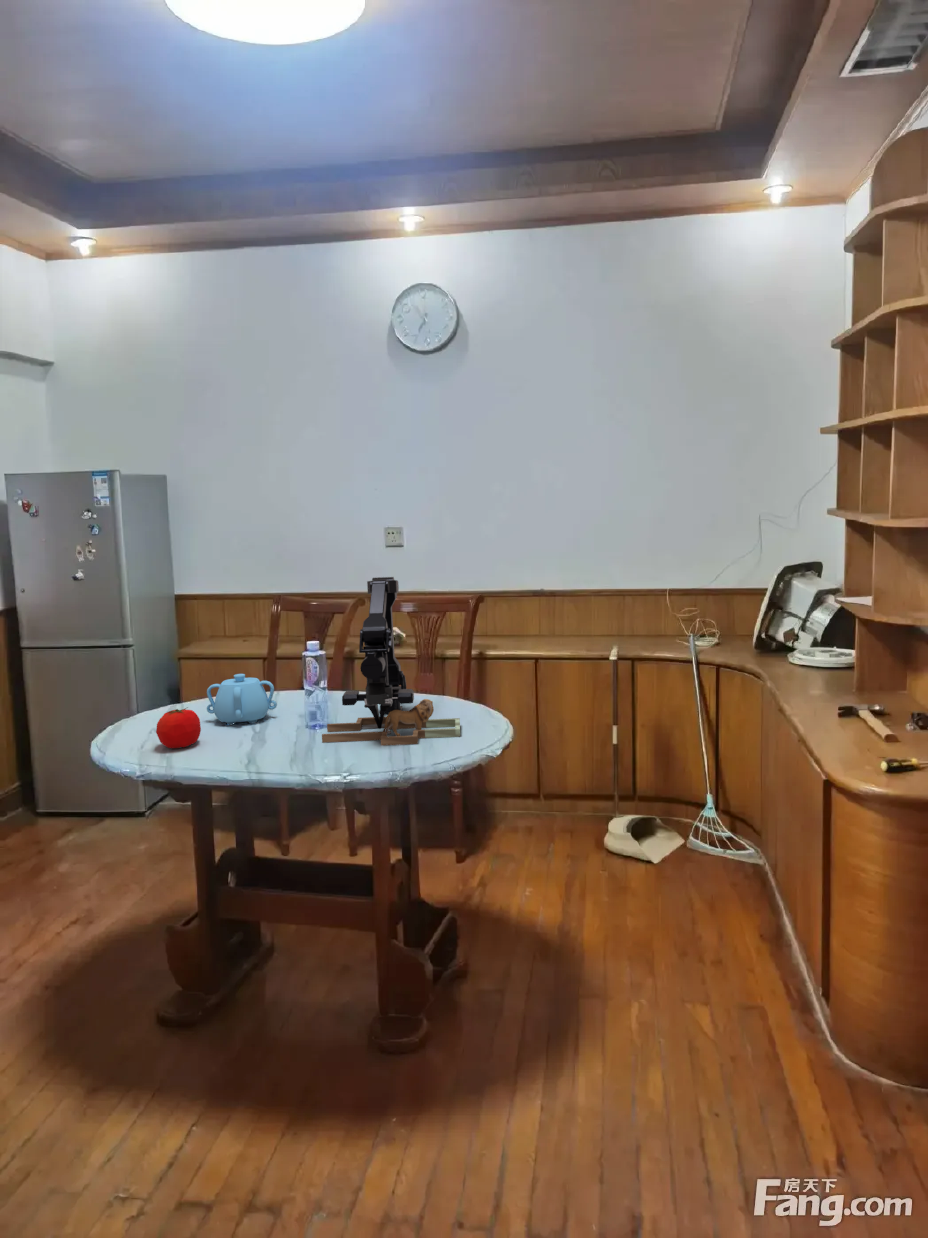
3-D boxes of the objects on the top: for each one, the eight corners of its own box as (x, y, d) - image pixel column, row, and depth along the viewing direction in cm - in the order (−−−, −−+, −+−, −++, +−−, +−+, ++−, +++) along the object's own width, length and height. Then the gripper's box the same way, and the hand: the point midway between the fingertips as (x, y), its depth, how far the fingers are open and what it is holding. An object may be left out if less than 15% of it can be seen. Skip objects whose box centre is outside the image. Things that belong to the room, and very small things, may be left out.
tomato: (213, 742, 249) (210, 704, 248) (176, 755, 239) (173, 716, 237) (183, 737, 255) (180, 700, 254) (146, 750, 244) (142, 712, 243)
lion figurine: (432, 728, 253) (431, 696, 252) (436, 733, 248) (435, 700, 247) (379, 734, 250) (377, 701, 249) (381, 739, 245) (379, 705, 244)
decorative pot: (252, 710, 283) (248, 666, 281) (282, 718, 272) (278, 672, 270) (203, 721, 272) (199, 676, 270) (233, 730, 260) (229, 682, 258)
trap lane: (330, 725, 261) (330, 719, 260) (459, 720, 261) (459, 713, 261) (319, 748, 239) (318, 740, 239) (460, 742, 239) (460, 734, 239)
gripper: (337, 678, 239) (341, 737, 242) (410, 676, 239) (412, 735, 242) (343, 670, 250) (346, 726, 253) (412, 667, 250) (415, 724, 253)
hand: (379, 728), depth 250 cm, fingers closed
